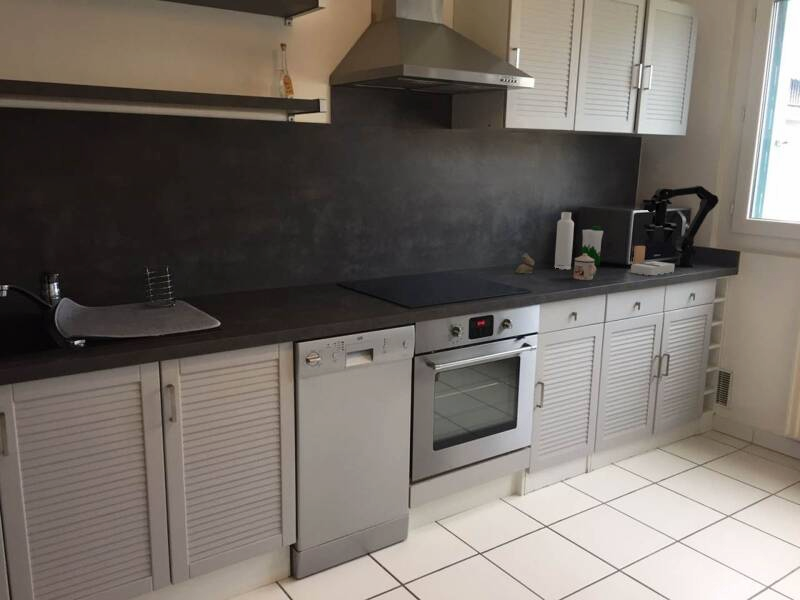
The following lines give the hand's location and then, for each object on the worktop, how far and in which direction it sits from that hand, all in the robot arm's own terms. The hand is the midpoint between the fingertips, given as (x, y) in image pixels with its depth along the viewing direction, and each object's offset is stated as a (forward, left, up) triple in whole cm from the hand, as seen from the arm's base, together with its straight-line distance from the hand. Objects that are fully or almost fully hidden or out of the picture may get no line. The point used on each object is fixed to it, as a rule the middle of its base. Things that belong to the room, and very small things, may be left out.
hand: (657, 243), depth 338 cm
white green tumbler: (+34, -2, -12) cm, 36 cm away
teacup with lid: (+50, +40, -12) cm, 65 cm away
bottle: (+52, +10, -12) cm, 54 cm away
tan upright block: (+12, +6, -12) cm, 18 cm away
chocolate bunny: (+75, +26, -12) cm, 80 cm away
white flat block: (+10, +20, -12) cm, 26 cm away
